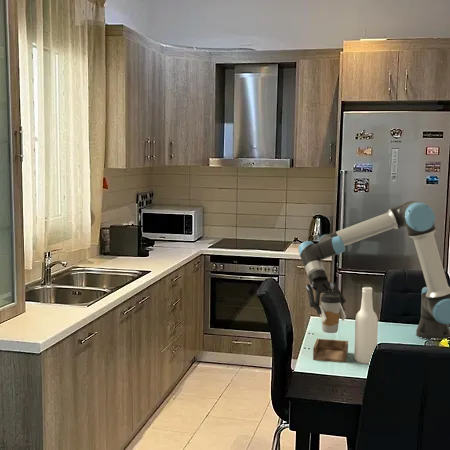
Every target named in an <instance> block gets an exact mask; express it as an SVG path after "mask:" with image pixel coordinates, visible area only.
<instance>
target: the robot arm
mask: <svg viewBox="0 0 450 450" xmlns="http://www.w3.org/2000/svg"><path fill="white" fill-rule="evenodd" d="M434 211H435V210H433V209H432V207H431V206H429V204H427V203H425V202H422V201H415V200H409V201H406V202H404V203H402V204H399V205H397V206H394V207H392V208H389V209H388V211H387V212H385V213H383V214H380V215H377V216H375V217H374V216H373V217H372V218H369V219H367V220H364V221H361V222H359V223H356V224H353V225H350V226H347V227H345V228H342V229H340V230H337V231H335V232H334V231H333V232H331V233H329V234H328V233H326V234H323V235H321V236H320V237H319V240H318V242H317V243H314V242H313V241H312V240H308V241H307V240H306V241H303V242H302V243H300V244H299V246H298V247H297V249H298V253H299V257H300V260H301V262H302V264H303V268H304V270H305V271H306V275H307V277H308V281H309V283H307V285H306V286H305V290H306V292H307V295H308V301H309V307H310V308H313V309H314V310H316V313H317V315H319V316H320V319H321V323H322V322H325V321H326V319H327V318H326V316H325V313H324V310H323V308H322V305H321V294H328V293H330V294H338V295H340V298H341V302H340V315H339V318H340V319H341V321H345V320H346V318H347V315H346V312H345V311H346V309H345V307H344V306H345V303H346V302H347V301H346V299H345V297H344V295H343V294H342V292H341V290H340V289H339V288H338V285H337V282H335V281H334V282H330V281H329V279H328V276H327V273H326V271H325V267H324V265H323V263H322V261H323V260H325V259H328V258H331V257H333V256H337V255H340V254H342V253H344V252H345V251H346V247H345V246H348V245H351V244H355V243H356V242H359V241H361V240H365V239H368V238H370V237H373V236H376V235H378V234H382V233H384V232H386V231H390V230H393V229H395V230H398V229H402V228H406V232H407V235H408V237H409V238H411V239H412V240H413V243H414V247H415V250H416V253H417V257H418V261H419V264H420V268H421V271H422V274H423V278H424V281H425V284H426V286H424V287H423V288H422V289H421V303H420V320H419V323H418V325H417V327H416V334H415V335H416V336H417V337H418V336H419V337H418V338H420V337H422V338H421V339H423V338H426V339H425V340H427V339H431V338H446V337H450V286H449V284H448V279H447V278H446V277H447V276H446V273H445V270H444V267H443V264H442V259H441V257H440V252H439V249H438V246H437V242H436V238H435V235H434V234H435V232H436V230H437V228H436V223H435V220H436V215H435V212H434ZM314 291H315V296H314Z"/></svg>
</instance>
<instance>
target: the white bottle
mask: <svg viewBox="0 0 450 450" xmlns="http://www.w3.org/2000/svg"><path fill="white" fill-rule="evenodd" d="M361 289H362V290H361V292H362V293H361V303H360V309H359V310H358V312H357V313H356V315H355V318H354V319H355V320H354V321H355V322H354V323H355V324H354V327H355V328H354V356H353V357H354V361H356V362H357V363H359V364H363V365H370V364H369V362H370V359H371V356H372V353H373V351H374V349H375V347H376V345H377V346H378V334H379V333H378V330H379V329H378V328H379V324H378V323H379V319H378V315H377V313H376V312H375V311H374V304H373V303H374V302H373V288H372V287H371V286H365V287H362V288H361Z"/></svg>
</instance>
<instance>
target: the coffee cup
mask: <svg viewBox="0 0 450 450" xmlns="http://www.w3.org/2000/svg"><path fill="white" fill-rule="evenodd" d="M340 302H341V298H340V295H338V294H330V293H328V294H326V293H321V296H320V305H322V308H323V310H324V313H325V316H326V318H327V319H326V321H325V322H322V321H321V330H322V332H324V333H326V334H336V333H338V331H339V323H340Z"/></svg>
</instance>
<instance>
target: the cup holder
mask: <svg viewBox="0 0 450 450" xmlns="http://www.w3.org/2000/svg"><path fill="white" fill-rule="evenodd" d="M312 350H313V352H312V353H313V354H312V360H313V361H323V362H325V361H326V362H336V363H347V357H348V353H349V340H338V339H328V338H327V339H326V338H325V339H324V338H316V340H315V342H314V345H313V349H312Z"/></svg>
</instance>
